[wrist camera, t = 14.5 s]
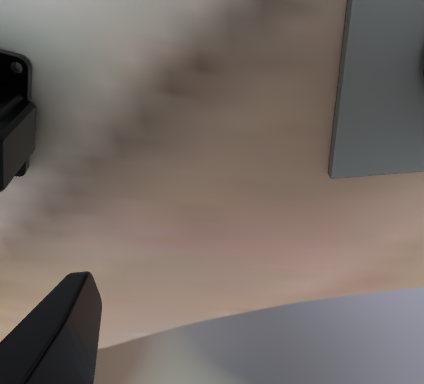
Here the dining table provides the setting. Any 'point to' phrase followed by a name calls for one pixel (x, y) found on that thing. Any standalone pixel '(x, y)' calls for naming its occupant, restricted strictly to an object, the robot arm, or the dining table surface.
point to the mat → (380, 90)
